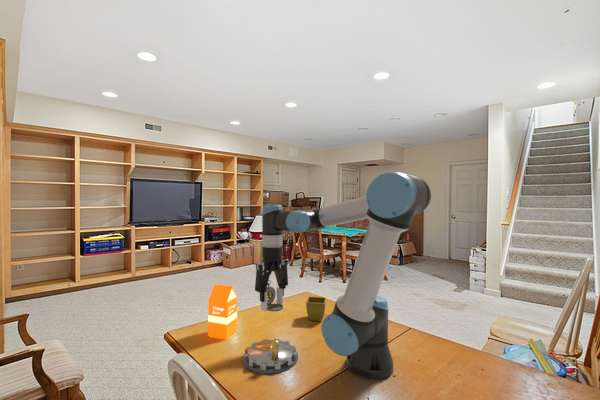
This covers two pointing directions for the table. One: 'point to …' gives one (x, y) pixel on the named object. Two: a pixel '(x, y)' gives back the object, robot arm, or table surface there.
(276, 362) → the sprocket
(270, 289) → the pocket watch
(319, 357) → the table surface
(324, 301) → the flower pot
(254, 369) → the base plate
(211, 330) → the orange juice
